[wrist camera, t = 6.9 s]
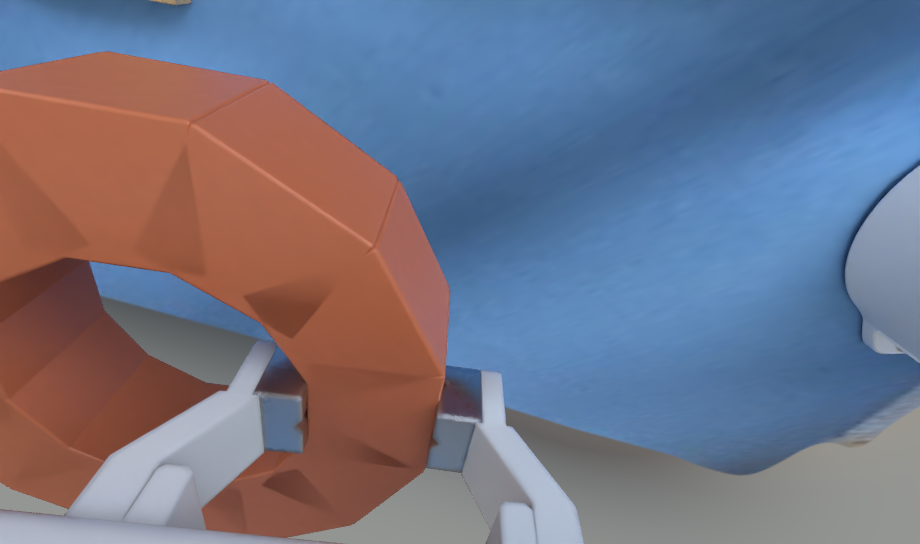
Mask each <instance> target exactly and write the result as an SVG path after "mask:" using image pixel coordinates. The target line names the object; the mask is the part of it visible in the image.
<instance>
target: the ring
mask: <svg viewBox="0 0 920 544" xmlns="http://www.w3.org/2000/svg"><path fill="white" fill-rule="evenodd" d="M89 261H92V262H99V263H106V264H112V265H119V266H126V267H133V268H140V269H147V270H153V271H160V272H167V273H171V274H173V275H175V276H176V277H178V278H180V279H182V280H184V281H185V282H187V283H189V284H191V285H193V286H194V287H196V288H198V289H200V290H202V291H203V292H205V293H207V294H209V295H211V296H213V297H214V298H216V299H218V300H220V301H222V302H223V303H225V304H227V305H229V306H231V307H232V308H234V309H236V310H238V311H240V312H241V313H243V314H245V315H247V316H249V317H250V318H252V319H254V320H256V321H258V322H259V323H261V324H262V325H263V327H264V328H265V329H266V331H267V332H268V333H269V334H270V336H271V337H272V338H273V340H274V341H275V342H276V344H277V345H278V346H279V347H280V349H281V350H282V351H283V353H284V354H285V355H286V357H287V358H288V359H289V360H290V362H291V363H292V364H293V366H294V367H295V368H296V370H297V371H298V372H299V373H300V375H301V376H302V377H303V379H304V380H305V381H306V383H307V395H308V406H307V417H308V440H307V443H306V445H305V448H304V451H303V454H300V453H289V452H277V451H266V450H264V453H263V454H262V455H261V456H260V457H259V458H258V459H257V460H256V461H254V462H253V463H252V464H251V465H250V466H249V467H248V468H247V469H245V470H244V471H243V472H242V473H241V474H240V475H239V476H238V477H236V478H235V479H234V480H233V481H232V482H231V483H230V484H229V485H228V486H226V487H225V488H224V489H223V490H222V491H221V492H220V493H219V494H217V495H216V496H215V497H214V498H213V499H212V500H211V501H210V502H208V503H207V504H206V505H205V506H204V507H203V508H202V514H203V518H204V522H205V526H206V530H212V531H222V532H232V533H242V534H251V535H261V536H271V537H281V538H287V537H292V536H298V535H302V534H308V533H313V532H318V531H323V530H328V529H334V528H339V527H344V526H350V525H352V524H355V523H356V522H357V521H358V520H360V519H361V518H363V517H364V516H365V515H367V514H368V513H369V512H371V511H372V510H373V509H375V508H376V507H377V506H379V505H380V504H381V503H383V502H384V501H385V500H387V499H388V498H389V497H390V496H392V495H393V494H395V493H396V492H397V491H399V490H400V489H401V488H403V487H404V486H405V485H407V484H408V483H409V482H411V481H412V480H413V479H414V478H416V477H417V476H418V475H420V474H421V473H423V471H424V470H425V468H426V464H427V452H428V447H429V442H430V437H431V434H432V433H433V424H434V418H435V414H436V409H437V405H438V402H439V401H440V399H441V395H442V390H443V385H444V381H445V371H446V355H447V338H448V321H449V305H450V289H449V285H448V283H447V281H446V279H445V276H444V274H443V272H442V270H441V268H440V266H439V263H438V261H437V259H436V257H435V255H434V253H433V250H432V248H431V246H430V244H429V242H428V240H427V237H426V235H425V233H424V231H423V229H422V227H421V224H420V222H419V220H418V218H417V216H416V214H415V211H414V209H413V207H412V205H411V203H410V201H409V198H408V196H407V194H406V192H405V190H404V187H403V185H402V183H401V182H400V181H398V178H397V176H395V175H394V174H393V173H391V172H390V171H389V170H387V169H386V168H385V167H383V166H382V165H381V164H379V163H378V162H377V161H375V160H374V159H373V158H371V157H370V156H369V155H367V154H366V153H365V152H363V151H362V150H361V149H359V148H358V147H357V146H356V145H354V144H353V143H352V142H350V141H349V140H348V139H346V138H345V137H344V136H342V135H341V134H340V133H338V132H337V131H336V130H334V129H333V128H332V127H330V126H329V125H328V124H326V123H325V122H324V121H322V120H321V119H320V118H318V117H317V116H316V115H314V114H313V113H312V112H310V111H309V110H308V109H306V108H305V107H304V106H302V105H301V104H300V103H299V102H297V101H296V100H295V99H293V98H292V97H291V96H289V95H288V94H287V93H285V92H284V91H283V90H281V89H280V88H279V87H277V86H276V85H275V84H273V83H269V82H268V81H266V80H263V79H258V78H252V77H246V76H241V75H235V74H230V73H224V72H219V71H213V70H208V69H202V68H197V67H191V66H186V65H180V64H174V63H169V62H163V61H158V60H152V59H147V58H141V57H136V56H130V55H125V54H119V53H114V52H108V51H106V52H97V53H92V54H87V55H82V56H77V57H71V58H66V59H61V60H56V61H51V62H46V63H40V64H35V65H30V66H25V67H20V68H15V69H9V70H4V71H0V482H1V483H2V484H4V485H5V486H7V487H10V488H11V489H13V490H16V491H18V492H21V493H24V494H27V495H30V496H33V497H36V498H38V499H42V500H44V501H47V502H50V503H53V504H56V505H58V506H61V507H64V508H67V509H69V508H70V507H71V505H72V504H73V503H74V501H75V500H76V499H77V497H78V496H79V495H80V493H81V492H82V491H83V489H84V488H85V487H86V486H87V484H88V483H89V482H90V480H91V479H92V478H93V476H94V475H95V474H96V472H97V471H98V470H99V468H100V467H101V466H102V465H103V463H104V462H105V461H106V459H107V458H108V457H109V455H111V454H112V453H114V452H116V451H117V450H119V449H121V448H123V447H124V446H126V445H128V444H129V443H131V442H133V441H134V440H136V439H138V438H140V437H141V436H143V435H145V434H146V433H148V432H150V431H152V430H153V429H155V428H157V427H158V426H160V425H162V424H163V423H165V422H167V421H169V420H170V419H172V418H174V417H175V416H177V415H179V414H181V413H182V412H184V411H186V410H187V409H189V408H191V407H192V406H194V405H196V404H198V403H199V402H201V401H203V400H204V399H206V398H208V397H210V396H211V395H213V394H215V393H216V392H218V391H227V389H228V388H229V386H228V385H221V384H213V383H206V382H204V381H201V380H199V379H197V378H195V377H193V376H191V375H189V374H187V373H185V372H183V371H181V370H179V369H177V368H174V367H172V366H171V365H168V364H166V363H164V362H162V361H160V360H158V359H156V358H154V357H152V356H150V355H148V354H147V353H146V352H145V351H144V350H143V349H142V348H141V347H140V346H139V345H138V344H137V343H136V342H135V341H134V340H133V339H132V338H131V337H130V336H129V335H128V334H127V333H126V332H125V331H124V330H123V329H122V328H121V327H120V326H119V325H118V324H117V323H116V322H115V321H114V320H113V318H112V317H111V316H110V315H109V314H108V313H107V312H106V311H105V310H104V308H103V304H102V301H101V298H100V295H99V291H98V288H97V285H96V282H95V279H94V276H93V273H92V269H91V266H90V263H89Z"/></svg>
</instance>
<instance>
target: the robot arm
mask: <svg viewBox="0 0 920 544" xmlns="http://www.w3.org/2000/svg"><path fill="white" fill-rule="evenodd" d="M845 284H846V288H847V292H848V294H849V296H850V298H851V300H852V301H853V303H854V304H855V305H856V307H857V308H858V309H859V311H860V313H861V314H862V317H863V323H862V339H863V342H864V343H865V344H866V345H867V346H869V347H870V348H871V349H873V350H874V351H876V352H877V353H880V354H908V355H909V356H910V357H912V358H913V359H915V360H916V361H917V362H919V363H920V165H919V166H918V167H916V168H915V169H914V170H913V171H911V172H910V173H909V174H908V175H906V176H905V177H904V178H903V179H902V180H901V181H900V182H898V183H897V184H896V185H895V186H894V187H893V188H892V189H891V190H890V191H889V192H888V193H887V194H886V195H885V196H884V197H883V198H882V200H881V201H880V202H879V203H878V204H877V205H876V207H875V208H874V209H873V210H872V212H871V213H870V214H869V215H868V217H867V218H866V220H865V221H864V223H863V224H862V226H861V228H860V229H859V231H858V233H857V235H856V236H855V238H854V241H853V243H852V245H851V248H850V250H849V253H848V257H847V260H846V266H845ZM307 406H308V395H307V383H306V381H305V380H304V379H303V377H302V376H301V375H300V373H299V372H298V371H297V370H296V368H295V367H294V366H293V364H292V363H291V362H290V360H289V359H288V358H287V357H286V355H285V354H284V353H283V351H282V350H281V349H280V347H279V346H278V345H277V344H276V343H275V342H269V341H263V340H259V341H258V342H257V343H255V344H254V346H253V347H252V349H251V351H250V352H249V354H248V356H247V357H246V359H245V361H244V362H243V364H242V366H241V367H240V369H239V371H238V373H237V374H236V376H235V377H234V379H233V381H232V383H231V384H230V386H229V388H228V389H227V391H218V392H216V393H215V394H213V395H211V396H210V397H208V398H206V399H204V400H203V401H201V402H199V403H198V404H196V405H194V406H192V407H191V408H189V409H187V410H186V411H184V412H182V413H181V414H179V415H177V416H175V417H174V418H172V419H170V420H169V421H167V422H165V423H163V424H162V425H160V426H158V427H157V428H155V429H153V430H152V431H150V432H148V433H146V434H145V435H143V436H141V437H140V438H138V439H136V440H134V441H133V442H131V443H129V444H128V445H126V446H124V447H123V448H121V449H119V450H117V451H116V452H114V453H112V454H111V455H109V457H108V458H107V459H106V461H105V462H104V463H103V465H102V466H101V467H100V468H99V470H98V471H97V472H96V474H95V475H94V476H93V478H92V479H91V480H90V482H89V483H88V484H87V486H86V487H85V488H84V489H83V491H82V492H81V493H80V495H79V496H78V497H77V499H76V500H75V501H74V503H73V504H72V505H71V507H70V508H69V509H68V510H67V512H66V513H65V515H64V516H62V515H52V514H42V513H32V512H22V511H12V510H2V509H0V544H341V543H331V542H321V541H311V540H300V539H290V538H281V537H271V536H261V535H251V534H242V533H232V532H222V531H212V530H206V526H205V522H204V518H203V514H202V508H203V507H204V506H205V505H206V504H207V503H208V502H210V501H211V500H212V499H213V498H214V497H215V496H216V495H217V494H219V493H220V492H221V491H222V490H223V489H224V488H225V487H226V486H228V485H229V484H230V483H231V482H232V481H233V480H234V479H235V478H236V477H238V476H239V475H240V474H241V473H242V472H243V471H244V470H245V469H247V468H248V467H249V466H250V465H251V464H252V463H253V462H254V461H256V460H257V459H258V458H259V457H260V456H261V455H262V454H263V453H264V450H266V451H277V452H289V453H300V454H303V451H304V448H305V445H306V443H307V440H308V417H307ZM426 468H430V469H438V470H444V471H451V472H458V473H462V474H461V475H462V477H463V479H464V481H465V483H466V485H467V487H468V488H469V490H470V492H471V494H472V496H473V498H474V500H475V502H476V504H477V505H478V507H479V509H480V511H481V513H482V515H483V517H484V519H485V521H486V523H487V525H488V526H489V528H490V530H491V531H490V534H489V536H488V539H487V541H486V544H584V543H583V538H582V533H581V528H580V523H579V519H578V514H577V509H576V507H575V505H574V504H573V503H572V502H571V500H570V499H569V498H568V497H567V495H566V494H565V493H564V492H563V490H562V489H561V488H560V486H559V485H558V484H557V483H556V481H555V480H554V479H553V478H552V476H551V475H550V474H549V473H548V471H547V470H546V469H545V468H544V466H543V465H542V464H541V462H540V461H539V460H538V459H537V458H536V456H535V455H534V454H533V452H532V451H531V450H530V449H529V447H528V446H527V445H526V444H525V442H524V441H523V440H522V439H521V437H520V436H519V435H518V433H517V432H516V431H515V430H514V428H513V427H509V426H506V418H505V407H504V396H503V386H502V375H501V374H500V372H495V371H486V370H477V369H469V368H461V367H453V366H446V371H445V381H444V385H443V390H442V395H441V399H440V401H439V402H438V405H437V409H436V414H435V418H434V424H433V433H432V434H431V437H430V442H429V447H428V452H427V465H426Z"/></svg>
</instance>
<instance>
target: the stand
mask: <svg viewBox="0 0 920 544" xmlns="http://www.w3.org/2000/svg"><path fill="white" fill-rule="evenodd" d="M149 1H154V2H160V3H165V4H171V5H183V4H191V0H149Z"/></svg>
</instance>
